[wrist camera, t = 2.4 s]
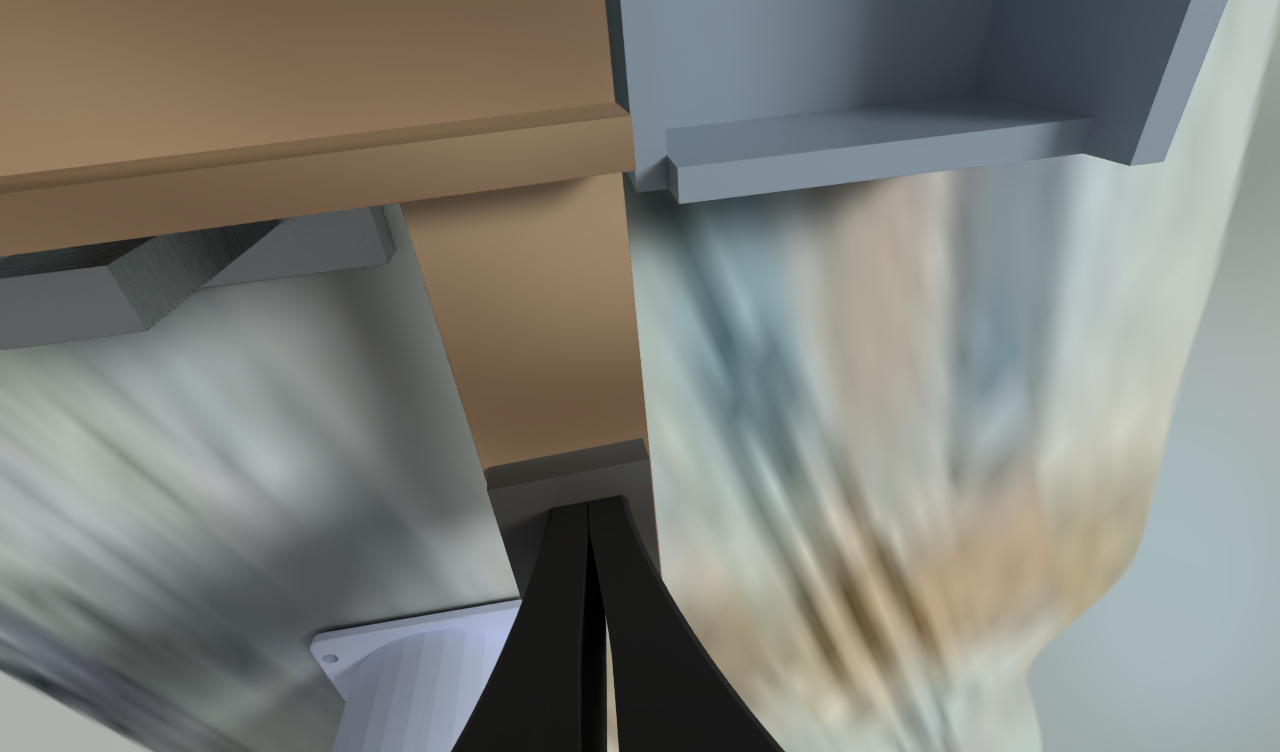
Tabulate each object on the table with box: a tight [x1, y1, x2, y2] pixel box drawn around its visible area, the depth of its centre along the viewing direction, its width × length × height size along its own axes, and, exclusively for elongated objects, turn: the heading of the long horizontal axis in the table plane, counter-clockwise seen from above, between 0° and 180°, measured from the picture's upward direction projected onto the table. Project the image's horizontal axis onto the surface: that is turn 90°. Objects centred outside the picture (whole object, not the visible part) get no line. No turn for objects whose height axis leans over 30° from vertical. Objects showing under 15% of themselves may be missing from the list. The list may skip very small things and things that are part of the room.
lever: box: [0, 0, 662, 600], centre depth 7 cm, size 16×16×3 cm
